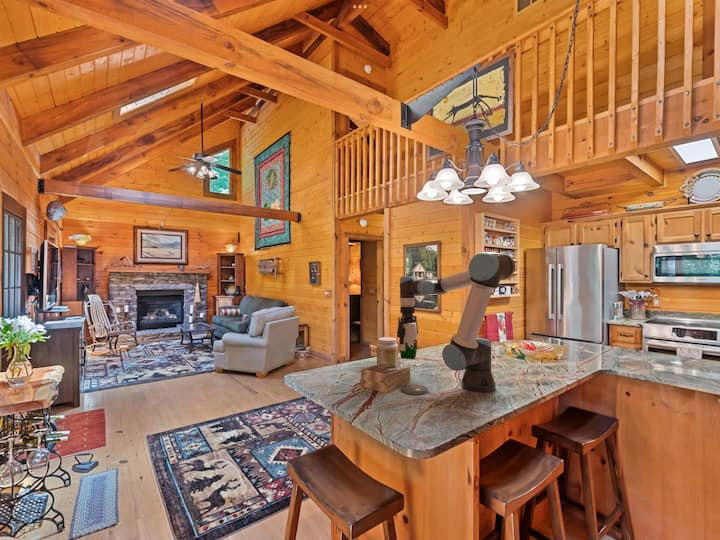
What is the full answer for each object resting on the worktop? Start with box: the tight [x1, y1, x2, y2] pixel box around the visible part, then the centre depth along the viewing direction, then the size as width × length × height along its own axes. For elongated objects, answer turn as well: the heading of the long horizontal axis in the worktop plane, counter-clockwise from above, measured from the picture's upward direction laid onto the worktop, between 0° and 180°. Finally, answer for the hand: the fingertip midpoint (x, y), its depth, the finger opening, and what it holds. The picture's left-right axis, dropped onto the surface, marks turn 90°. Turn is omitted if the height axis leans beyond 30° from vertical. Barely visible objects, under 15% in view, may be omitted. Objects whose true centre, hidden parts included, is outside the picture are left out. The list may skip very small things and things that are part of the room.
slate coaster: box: [400, 383, 429, 396], centre depth 159 cm, size 12×12×1 cm
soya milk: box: [399, 323, 418, 360], centre depth 182 cm, size 9×9×20 cm
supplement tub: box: [376, 336, 399, 372], centre depth 197 cm, size 12×12×17 cm
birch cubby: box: [360, 362, 411, 394], centre depth 168 cm, size 15×20×8 cm
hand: (408, 349), depth 182 cm, fingers closed on soya milk, 9 cm apart
